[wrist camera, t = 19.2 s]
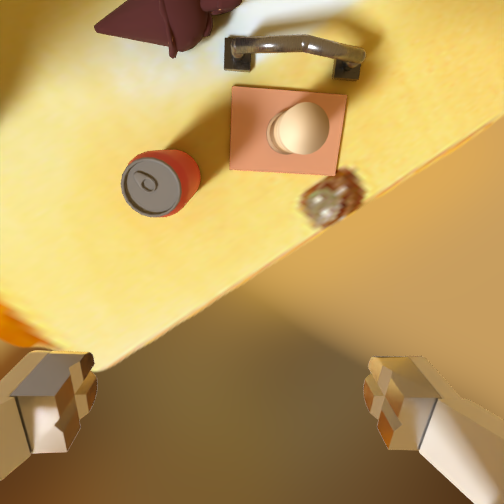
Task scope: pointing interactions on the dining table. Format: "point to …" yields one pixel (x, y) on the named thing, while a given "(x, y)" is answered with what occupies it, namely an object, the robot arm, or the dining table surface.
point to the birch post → (298, 129)
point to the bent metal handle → (343, 55)
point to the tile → (255, 126)
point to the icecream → (165, 21)
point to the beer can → (160, 182)
